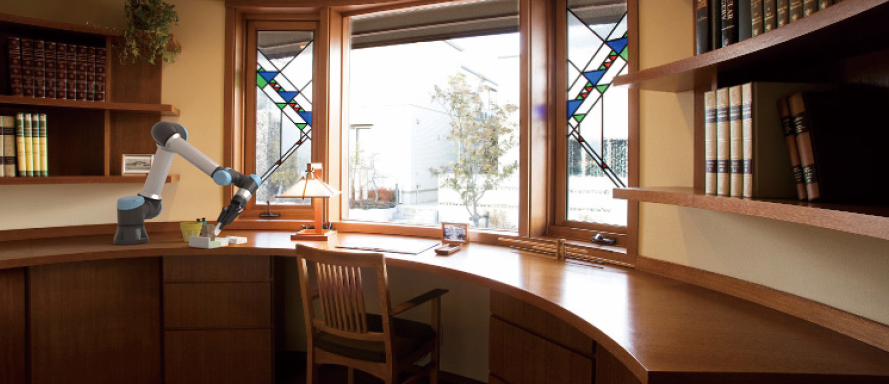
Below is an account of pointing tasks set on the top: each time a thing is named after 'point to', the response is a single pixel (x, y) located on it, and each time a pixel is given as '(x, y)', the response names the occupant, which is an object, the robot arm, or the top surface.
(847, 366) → the top surface
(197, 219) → the binoculars
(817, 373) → the top surface
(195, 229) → the plant pot
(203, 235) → the walnut block
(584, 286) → the top surface
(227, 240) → the trap board
